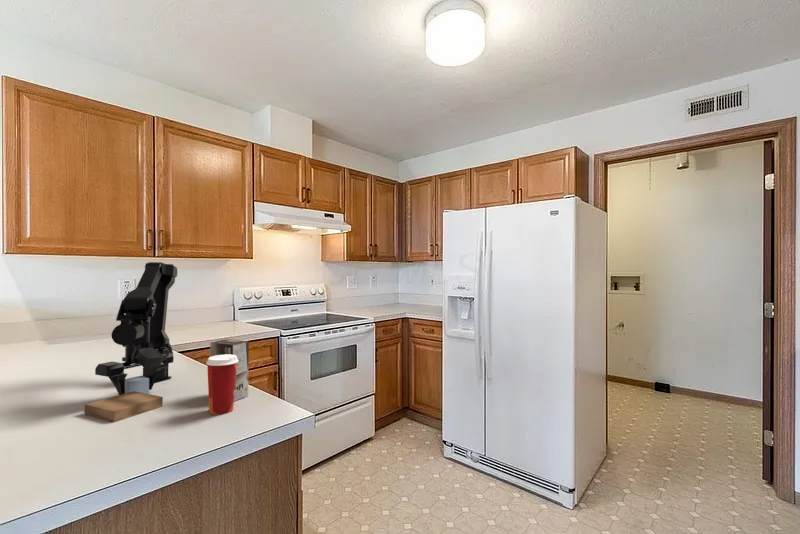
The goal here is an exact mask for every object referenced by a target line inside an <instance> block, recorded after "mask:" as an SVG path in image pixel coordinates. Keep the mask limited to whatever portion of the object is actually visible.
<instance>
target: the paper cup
mask: <svg viewBox="0 0 800 534" xmlns="http://www.w3.org/2000/svg"><path fill="white" fill-rule="evenodd" d="M237 362H238V359H237V356H236V355H230V354H226V355H216V356H212V357H210V356H209V357H208V358H207V361H206V363H205V364H206V366H207V367H206V368H207V386H208V388H207V389H208V391H207V392H208V403H209V404H208V407H209V413H210V414H211V415H214V414H215V416H218V415H219V414H221V415H226V414H228V413H231V412H233V410H234V404H235V401H234V395H235V382H236V369H237ZM225 413H226V414H225Z"/></svg>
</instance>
